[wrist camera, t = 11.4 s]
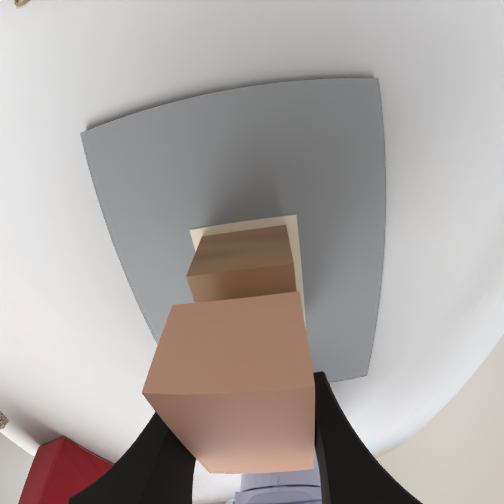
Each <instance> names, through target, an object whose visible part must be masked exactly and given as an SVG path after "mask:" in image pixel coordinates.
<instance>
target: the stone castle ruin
mask: <svg viewBox="0 0 504 504" xmlns="http://www.w3.org/2000/svg"><path fill="white" fill-rule="evenodd" d="M7 423H8V419H7V418H6V417H5V416H4V415H3V414H2V413H1V412H0V429H4V427H5V425H6V424H7Z"/></svg>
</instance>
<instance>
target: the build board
mask: <svg viewBox="0 0 504 504" xmlns="http://www.w3.org/2000/svg"><path fill="white" fill-rule="evenodd" d="M80 134H81V138H82V143H83V147H84V151H85V155H86V159H87V163H88V166H89V170H90V174H91V177H92V181H93V184H94V187H95V191H96V194H97V197H98V200H99V204H100V207H101V210H102V213H103V216H104V219H105V222H106V225H107V228H108V230H109V233H110V236H111V239H112V242H113V244H114V247H115V250H116V252H117V255H118V257H119V260H120V263H121V265H122V268H123V270H124V272H125V275H126V277H127V280H128V282H129V284H130V287H131V289H132V291H133V294H134V296H135V298H136V301H137V303H138V305H139V307H140V309H141V312H142V314H143V316H144V318H145V320H146V322H147V324H148V326H149V328H150V331H151V333H152V335H153V337H154V339H155V341H156V343H157V345H158V343H159V341H160V338H161V335H162V332H163V329H164V327H165V324H166V321H167V318H168V316H169V313H170V310H171V308H172V305H177V304H188V303H195V302H194V299H193V296H192V293H191V290H190V287H189V284H188V281H187V278H186V275H187V273H188V270H189V268H190V265H191V262H192V260H193V257H194V255H195V252H196V250H197V247H198V245H199V242H200V240H201V237H202V236H208V235H215V234H222V233H229V232H236V231H243V230H250V229H257V228H265V227H272V226H280V225H286V227H287V232H288V236H289V241H290V246H291V251H292V257H293V262H294V270H295V280H296V290H297V291H299V294H300V299H301V305H302V310H303V316H304V322H305V327H306V333H307V339H308V345H309V351H310V357H311V363H312V370H313V373H314V372H321V371H323V372H325V374H326V377H327V380H328V383H330V382H336V381H342V380H348V379H353V378H358V377H363V376H367V373H368V368H369V363H370V357H371V352H372V346H373V340H374V334H375V328H376V321H377V314H378V306H379V298H380V289H381V280H382V269H383V256H384V240H385V215H386V169H385V144H384V129H383V116H382V106H381V97H380V88H379V81H378V78H330V79H311V80H298V81H287V82H278V83H269V84H262V85H254V86H248V87H242V88H236V89H230V90H224V91H219V92H214V93H209V94H205V95H200V96H196V97H191V98H187V99H183V100H179V101H175V102H171V103H167V104H164V105H160V106H157V107H153V108H150V109H147V110H143V111H140V112H137V113H134V114H131V115H128V116H125V117H122V118H119V119H116V120H113V121H110V122H108V123H105V124H102V125H100V126H97V127H94V128H92V129H89V130H87V131H84V132H82V133H80Z"/></svg>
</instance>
